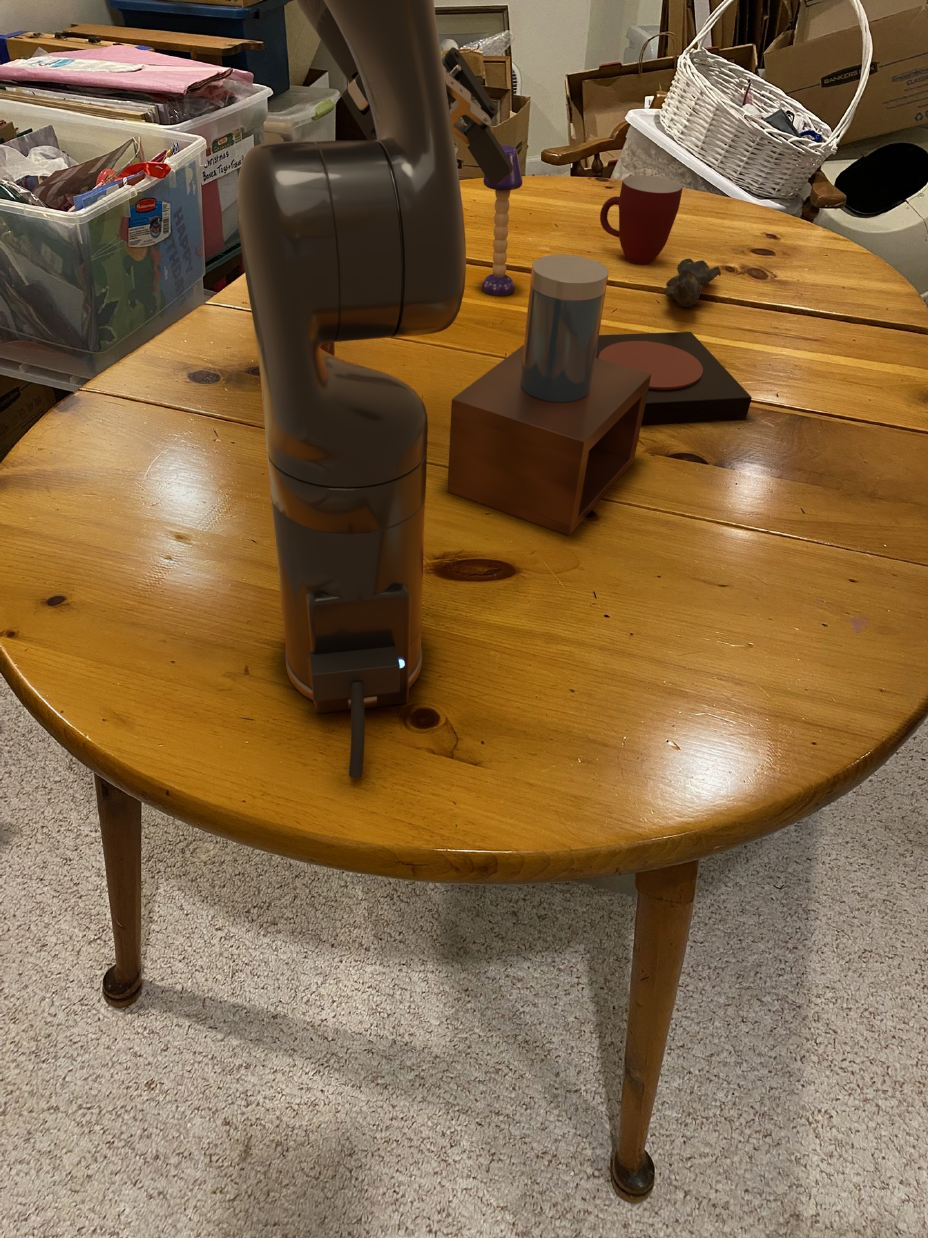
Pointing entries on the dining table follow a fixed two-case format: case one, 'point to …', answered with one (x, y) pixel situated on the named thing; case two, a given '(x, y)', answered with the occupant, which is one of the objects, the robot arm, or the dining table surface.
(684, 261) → the statue
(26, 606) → the dining table surface
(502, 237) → the toy lamp
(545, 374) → the jar
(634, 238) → the mug
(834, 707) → the dining table surface
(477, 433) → the shelf
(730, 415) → the hot plate
